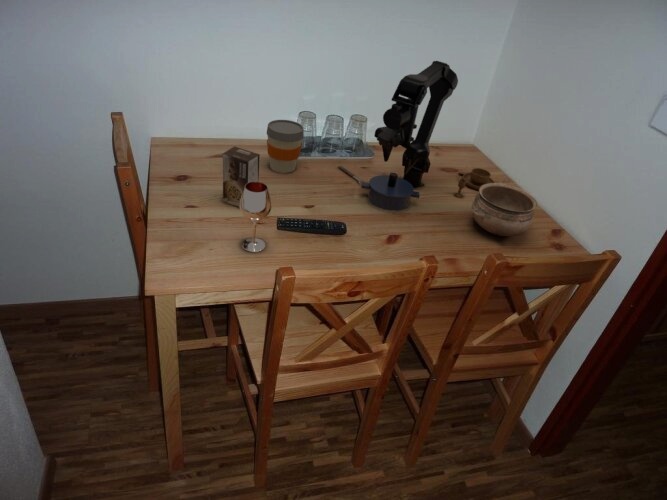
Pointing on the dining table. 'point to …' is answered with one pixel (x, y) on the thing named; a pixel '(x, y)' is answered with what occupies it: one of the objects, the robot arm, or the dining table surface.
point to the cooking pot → (503, 209)
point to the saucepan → (388, 199)
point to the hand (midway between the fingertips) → (395, 167)
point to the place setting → (474, 180)
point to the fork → (349, 173)
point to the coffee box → (238, 173)
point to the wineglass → (255, 211)
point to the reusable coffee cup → (284, 144)
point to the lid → (391, 186)
